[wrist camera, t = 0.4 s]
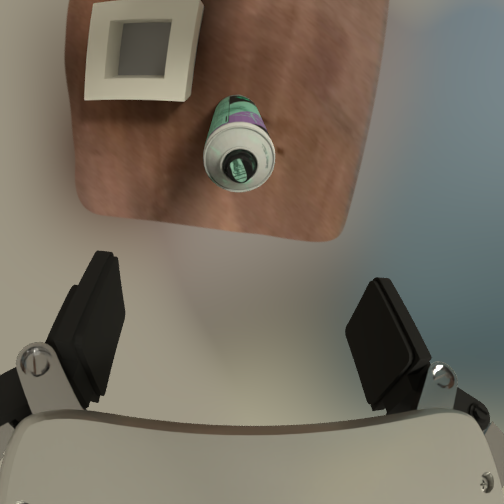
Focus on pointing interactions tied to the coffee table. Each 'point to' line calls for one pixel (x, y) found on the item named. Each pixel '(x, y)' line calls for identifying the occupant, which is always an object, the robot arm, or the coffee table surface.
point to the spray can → (238, 146)
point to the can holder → (142, 49)
